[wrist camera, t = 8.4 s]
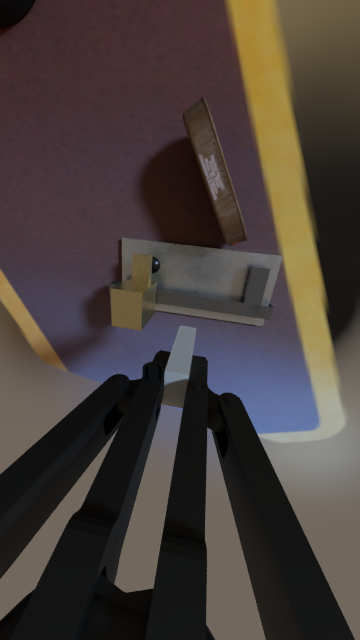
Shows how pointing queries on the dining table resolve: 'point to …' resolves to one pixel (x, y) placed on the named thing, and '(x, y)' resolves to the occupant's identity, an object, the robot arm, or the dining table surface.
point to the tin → (214, 171)
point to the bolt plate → (201, 273)
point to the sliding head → (135, 296)
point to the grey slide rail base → (221, 297)
